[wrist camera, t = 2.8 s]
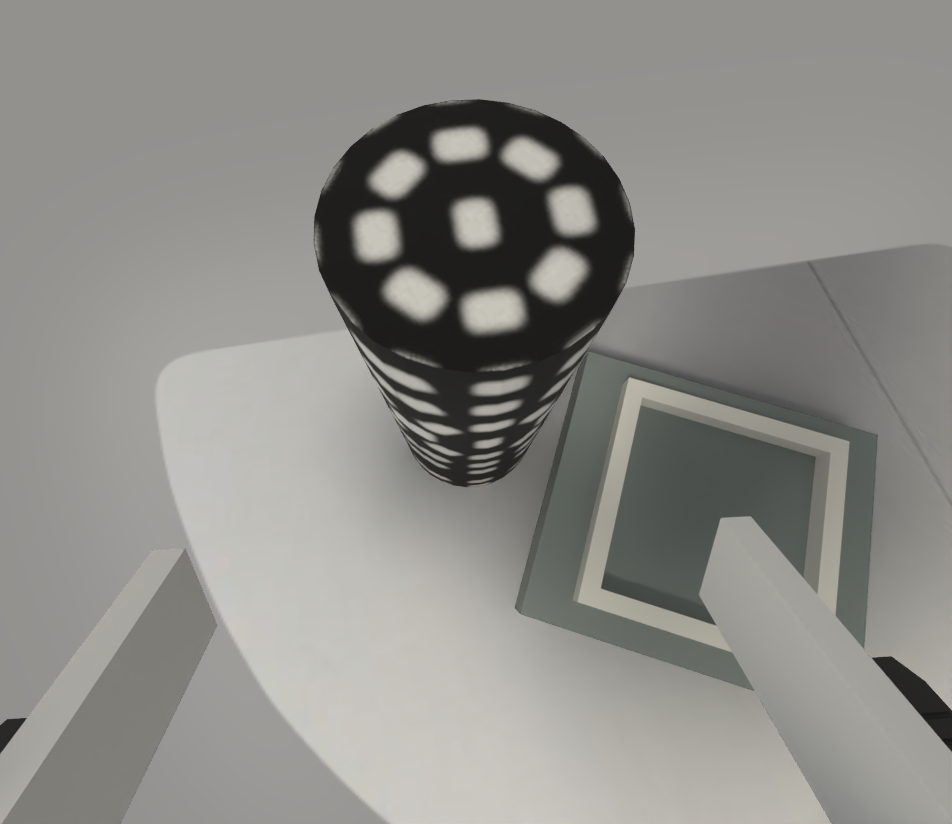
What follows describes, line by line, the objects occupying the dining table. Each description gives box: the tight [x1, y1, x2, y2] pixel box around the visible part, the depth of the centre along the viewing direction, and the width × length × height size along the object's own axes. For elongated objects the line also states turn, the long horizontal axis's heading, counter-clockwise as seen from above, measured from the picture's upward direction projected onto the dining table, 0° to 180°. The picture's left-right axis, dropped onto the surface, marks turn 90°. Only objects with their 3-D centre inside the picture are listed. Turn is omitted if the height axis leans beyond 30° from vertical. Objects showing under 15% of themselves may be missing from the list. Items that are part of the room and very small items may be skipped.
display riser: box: [515, 352, 878, 691], centre depth 28 cm, size 18×16×4 cm
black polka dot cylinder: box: [314, 100, 635, 487], centre depth 22 cm, size 8×8×20 cm
